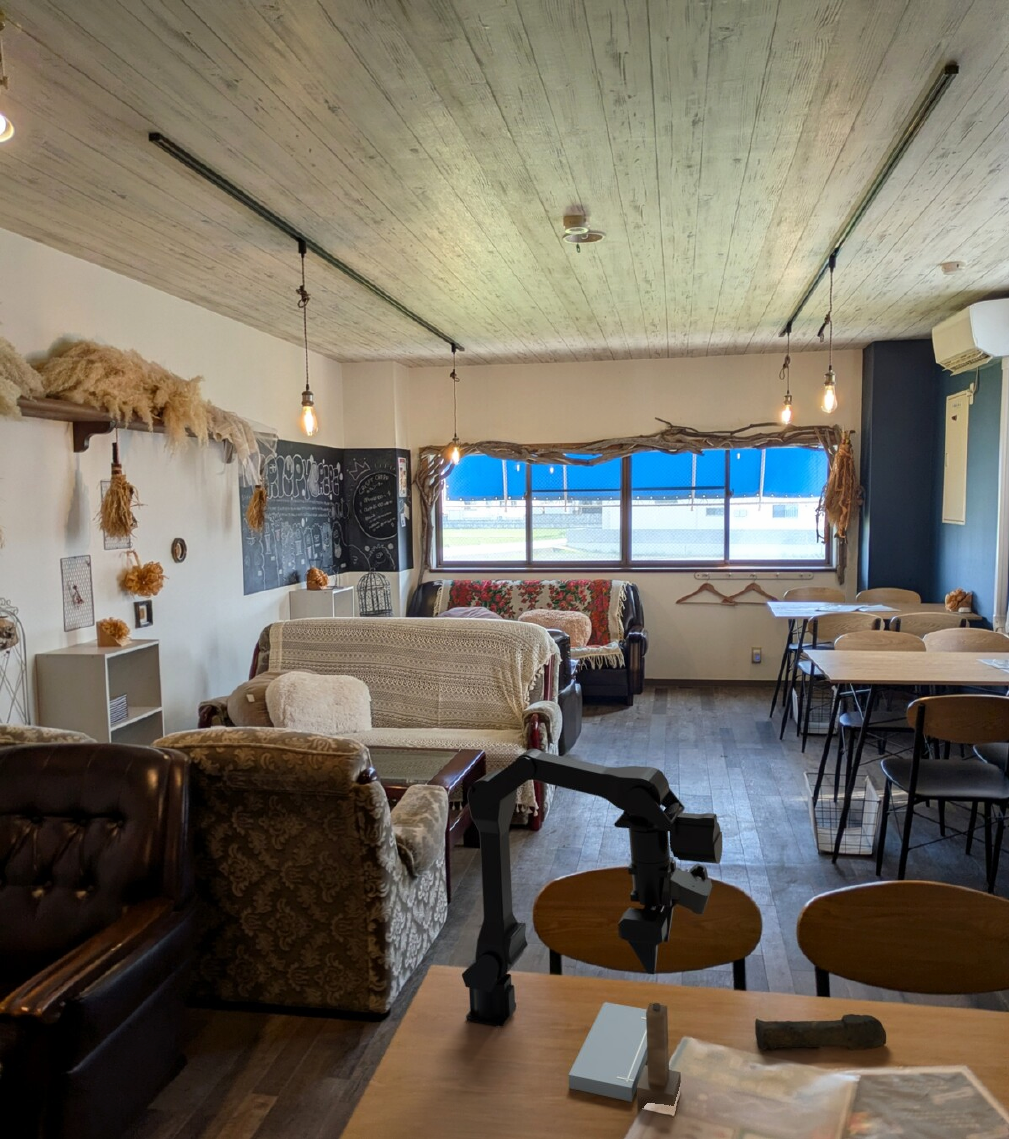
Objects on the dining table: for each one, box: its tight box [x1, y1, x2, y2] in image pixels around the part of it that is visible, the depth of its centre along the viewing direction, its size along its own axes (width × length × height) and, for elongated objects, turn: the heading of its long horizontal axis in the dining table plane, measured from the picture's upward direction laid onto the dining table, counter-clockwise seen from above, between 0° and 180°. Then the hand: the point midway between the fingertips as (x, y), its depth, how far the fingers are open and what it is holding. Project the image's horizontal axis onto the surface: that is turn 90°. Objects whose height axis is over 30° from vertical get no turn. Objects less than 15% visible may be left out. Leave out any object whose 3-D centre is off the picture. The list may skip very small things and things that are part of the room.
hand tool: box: [754, 1013, 887, 1051], centre depth 129 cm, size 19×4×5 cm, turn 85°
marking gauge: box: [636, 1002, 682, 1110], centre depth 119 cm, size 5×5×14 cm
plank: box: [568, 1001, 648, 1103], centre depth 130 cm, size 9×19×2 cm, turn 158°
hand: (658, 956), depth 130 cm, fingers open, 9 cm apart
